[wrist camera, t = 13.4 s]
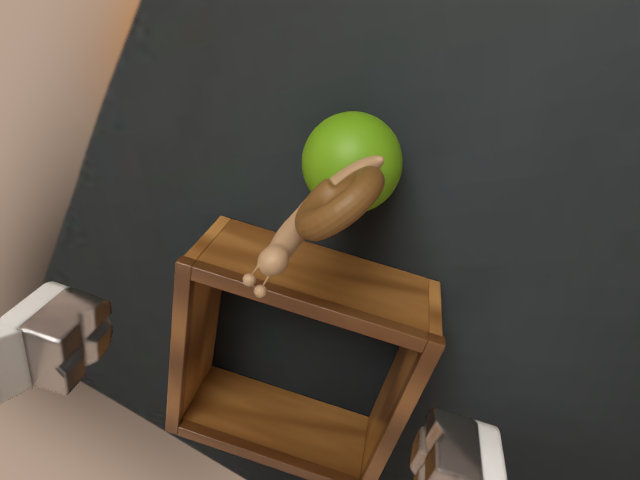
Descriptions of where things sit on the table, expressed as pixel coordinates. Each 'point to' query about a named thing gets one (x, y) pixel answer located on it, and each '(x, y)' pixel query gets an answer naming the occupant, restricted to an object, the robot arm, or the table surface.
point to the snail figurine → (335, 185)
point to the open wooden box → (279, 404)
